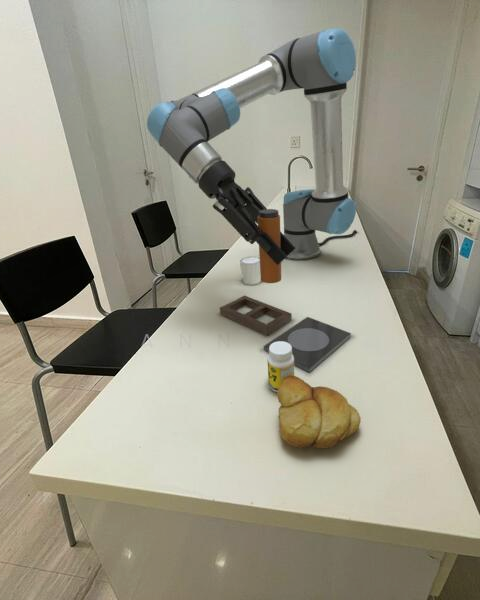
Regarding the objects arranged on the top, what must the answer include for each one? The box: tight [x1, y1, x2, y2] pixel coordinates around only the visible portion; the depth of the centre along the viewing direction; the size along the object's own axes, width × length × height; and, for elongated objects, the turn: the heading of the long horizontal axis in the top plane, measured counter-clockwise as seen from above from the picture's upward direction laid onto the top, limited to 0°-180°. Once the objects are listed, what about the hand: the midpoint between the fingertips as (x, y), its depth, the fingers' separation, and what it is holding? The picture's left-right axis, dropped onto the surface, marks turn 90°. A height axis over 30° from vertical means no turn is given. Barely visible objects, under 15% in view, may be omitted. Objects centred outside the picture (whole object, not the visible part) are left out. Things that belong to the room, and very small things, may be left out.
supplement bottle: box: [267, 341, 295, 393], centre depth 59 cm, size 5×5×8 cm
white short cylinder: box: [239, 256, 262, 286], centre depth 103 cm, size 7×7×7 cm
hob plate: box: [263, 316, 352, 373], centre depth 73 cm, size 16×12×1 cm
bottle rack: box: [219, 295, 293, 337], centre depth 83 cm, size 9×16×2 cm, turn 49°
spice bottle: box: [257, 208, 282, 284], centre depth 70 cm, size 5×5×15 cm
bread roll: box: [276, 375, 362, 449], centre depth 50 cm, size 13×10×8 cm
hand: (286, 256), depth 70 cm, fingers closed on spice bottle, 5 cm apart
